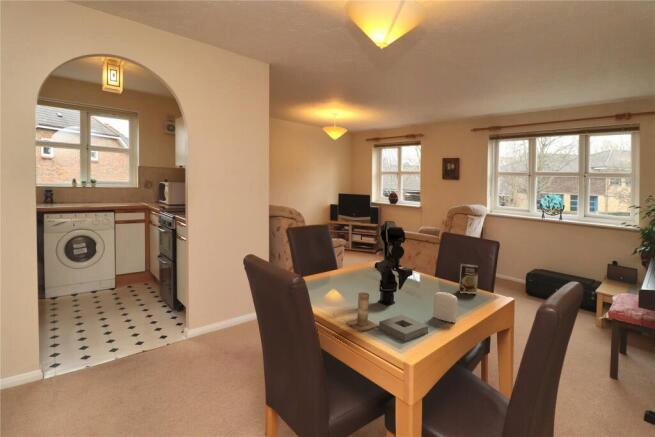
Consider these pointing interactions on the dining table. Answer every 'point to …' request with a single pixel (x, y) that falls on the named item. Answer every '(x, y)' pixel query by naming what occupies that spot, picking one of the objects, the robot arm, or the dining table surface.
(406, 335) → the holder
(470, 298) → the dining table surface
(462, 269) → the coffee box
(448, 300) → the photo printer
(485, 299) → the dining table surface
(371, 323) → the mat
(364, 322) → the dowel
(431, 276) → the dining table surface
